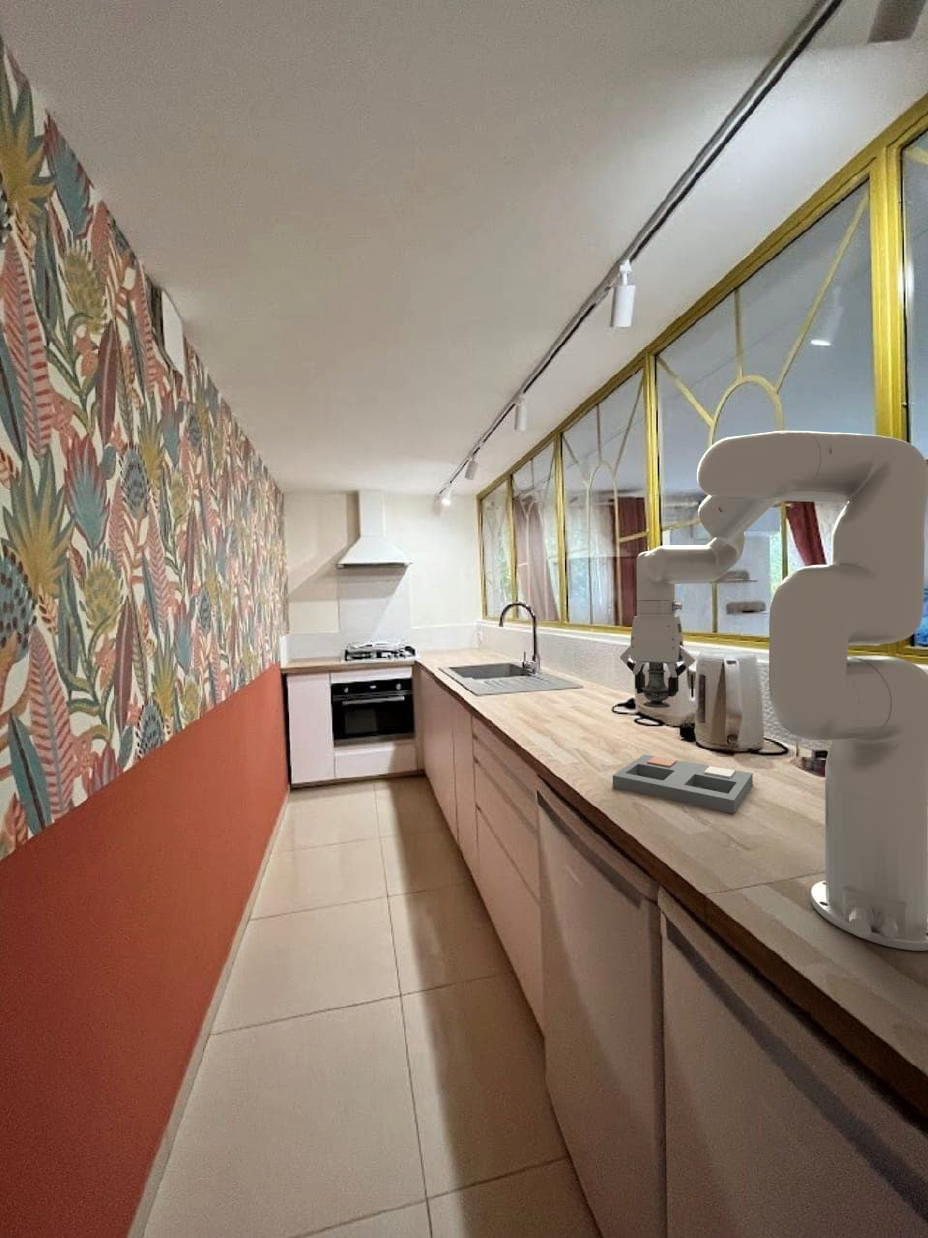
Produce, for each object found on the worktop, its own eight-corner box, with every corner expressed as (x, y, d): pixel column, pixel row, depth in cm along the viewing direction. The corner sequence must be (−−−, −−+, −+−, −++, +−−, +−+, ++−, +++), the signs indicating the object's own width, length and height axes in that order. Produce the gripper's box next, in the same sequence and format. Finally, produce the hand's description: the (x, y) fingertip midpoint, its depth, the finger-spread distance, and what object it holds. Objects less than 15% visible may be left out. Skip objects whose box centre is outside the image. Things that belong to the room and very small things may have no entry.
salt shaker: (674, 708, 102) (673, 650, 101) (644, 707, 103) (643, 650, 103) (668, 703, 107) (667, 648, 107) (640, 702, 108) (639, 648, 108)
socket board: (734, 813, 90) (733, 798, 90) (612, 786, 105) (612, 773, 105) (752, 784, 105) (752, 771, 105) (644, 764, 119) (643, 752, 119)
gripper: (704, 608, 102) (704, 695, 102) (623, 609, 113) (623, 688, 113) (694, 609, 96) (694, 701, 97) (609, 610, 107) (610, 692, 108)
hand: (656, 693), depth 105 cm, fingers closed on salt shaker, 5 cm apart
